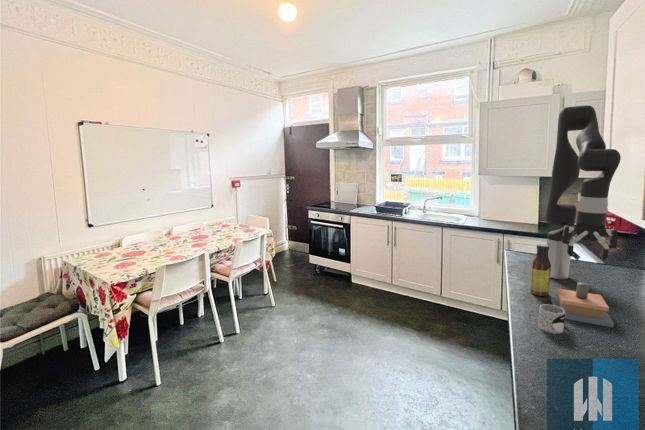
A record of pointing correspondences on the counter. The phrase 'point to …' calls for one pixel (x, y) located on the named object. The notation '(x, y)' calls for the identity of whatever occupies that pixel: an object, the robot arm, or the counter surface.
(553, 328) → the mug
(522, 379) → the counter surface
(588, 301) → the lid
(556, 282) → the counter surface
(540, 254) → the sauce bottle
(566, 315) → the socket stand
